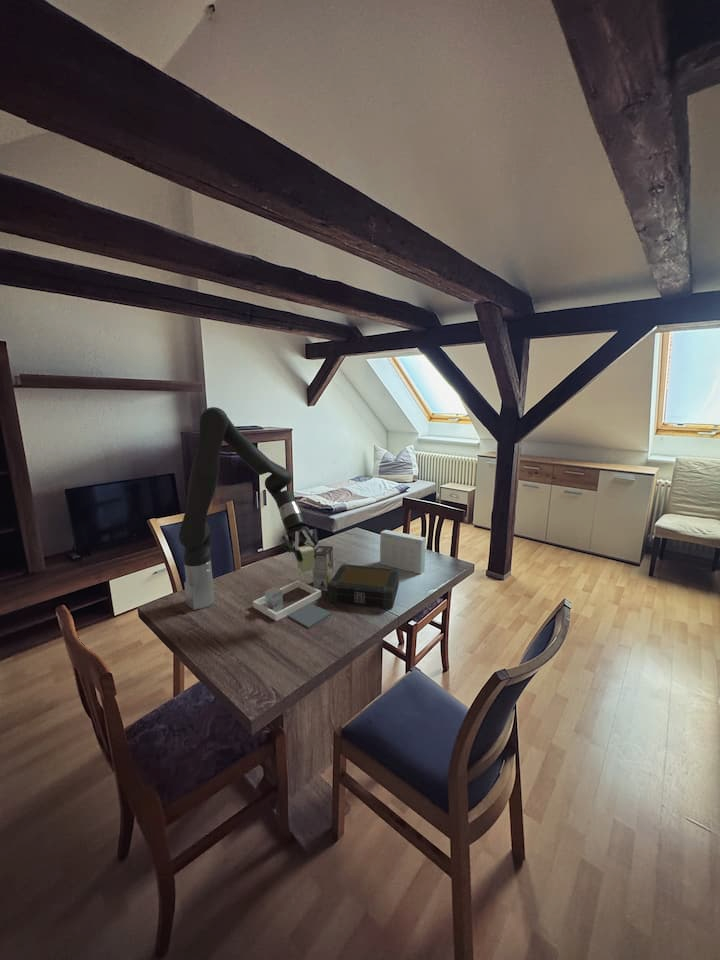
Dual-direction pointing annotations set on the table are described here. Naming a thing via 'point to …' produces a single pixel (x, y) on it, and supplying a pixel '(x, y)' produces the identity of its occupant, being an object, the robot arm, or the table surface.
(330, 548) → the coffee box
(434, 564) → the table surface
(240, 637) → the table surface
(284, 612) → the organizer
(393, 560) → the skincare box
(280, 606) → the grey tin
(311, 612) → the charcoal mat
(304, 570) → the olive tin
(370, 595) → the cash box
